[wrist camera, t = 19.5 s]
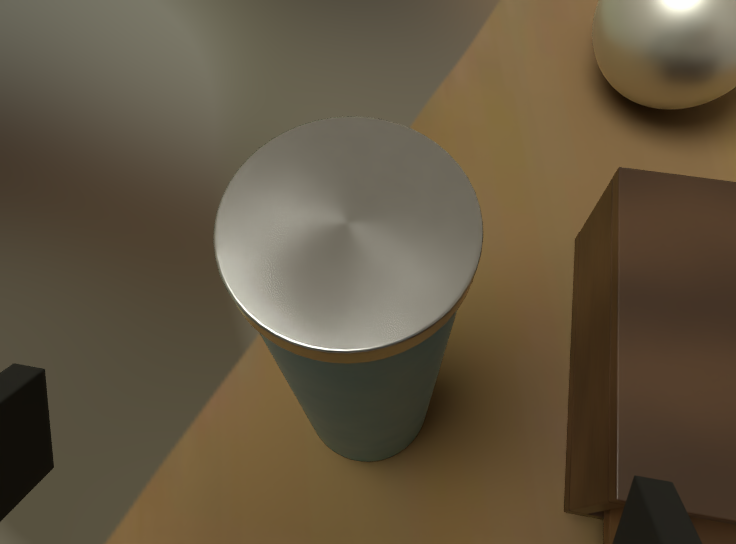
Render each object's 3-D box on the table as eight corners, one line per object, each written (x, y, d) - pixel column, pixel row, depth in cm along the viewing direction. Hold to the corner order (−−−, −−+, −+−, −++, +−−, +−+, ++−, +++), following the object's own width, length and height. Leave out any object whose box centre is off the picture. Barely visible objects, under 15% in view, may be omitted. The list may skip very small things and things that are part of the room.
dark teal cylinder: (456, 410, 28) (541, 241, 13) (356, 493, 27) (318, 413, 12) (377, 317, 30) (370, 75, 15) (280, 390, 29) (162, 205, 14)
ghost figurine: (731, 36, 38) (841, -129, 29) (719, 158, 34) (841, 13, 25) (584, 6, 39) (644, -160, 30) (556, 120, 35) (616, -30, 26)
